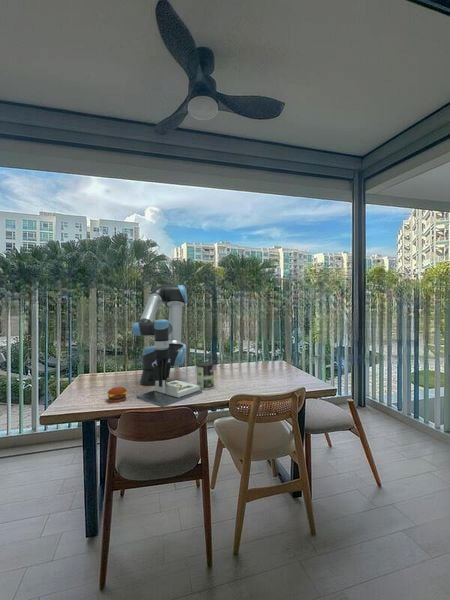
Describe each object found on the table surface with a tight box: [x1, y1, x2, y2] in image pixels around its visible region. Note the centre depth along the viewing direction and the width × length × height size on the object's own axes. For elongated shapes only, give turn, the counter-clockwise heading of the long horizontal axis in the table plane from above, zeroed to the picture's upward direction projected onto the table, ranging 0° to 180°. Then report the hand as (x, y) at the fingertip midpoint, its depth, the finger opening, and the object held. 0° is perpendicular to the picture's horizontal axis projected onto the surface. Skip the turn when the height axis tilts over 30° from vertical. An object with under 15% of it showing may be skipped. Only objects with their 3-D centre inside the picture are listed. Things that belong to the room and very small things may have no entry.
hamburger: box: [106, 386, 128, 404], centre depth 162 cm, size 9×10×7 cm
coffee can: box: [195, 361, 215, 391], centre depth 182 cm, size 10×10×14 cm
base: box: [136, 380, 203, 408], centre depth 168 cm, size 22×28×6 cm
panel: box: [153, 379, 201, 398], centre depth 172 cm, size 20×16×5 cm
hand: (162, 392), depth 164 cm, fingers closed
